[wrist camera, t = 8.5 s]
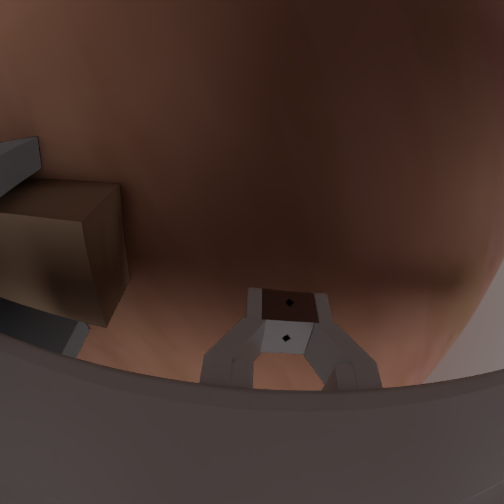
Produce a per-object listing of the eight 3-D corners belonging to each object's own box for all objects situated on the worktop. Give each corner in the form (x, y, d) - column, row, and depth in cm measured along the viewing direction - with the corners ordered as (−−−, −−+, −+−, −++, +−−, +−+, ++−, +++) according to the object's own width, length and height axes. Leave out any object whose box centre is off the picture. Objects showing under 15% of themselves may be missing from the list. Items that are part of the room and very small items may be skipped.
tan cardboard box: (-36, 176, 11) (-75, 204, 8) (123, 180, 11) (81, 222, 8) (-18, 246, 13) (-48, 278, 10) (132, 275, 14) (106, 327, 11)
